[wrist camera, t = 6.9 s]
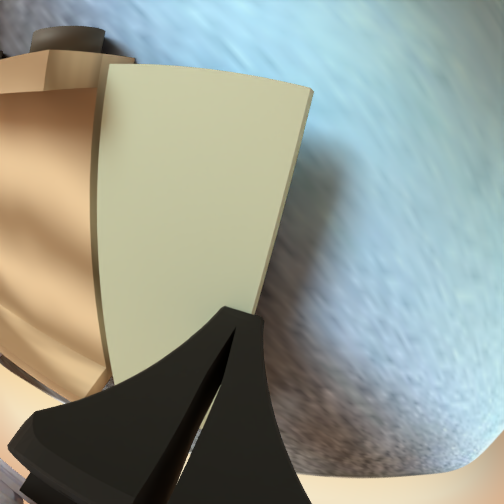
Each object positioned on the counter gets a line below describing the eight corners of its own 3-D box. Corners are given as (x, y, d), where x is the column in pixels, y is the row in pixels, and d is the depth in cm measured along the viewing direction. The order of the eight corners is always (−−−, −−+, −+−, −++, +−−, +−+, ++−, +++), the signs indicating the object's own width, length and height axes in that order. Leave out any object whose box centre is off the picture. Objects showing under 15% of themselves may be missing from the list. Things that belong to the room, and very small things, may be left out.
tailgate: (129, 369, 16) (227, 412, 15) (115, 387, 15) (217, 434, 14) (139, 66, 9) (315, 92, 8) (109, 63, 7) (310, 88, 6)
